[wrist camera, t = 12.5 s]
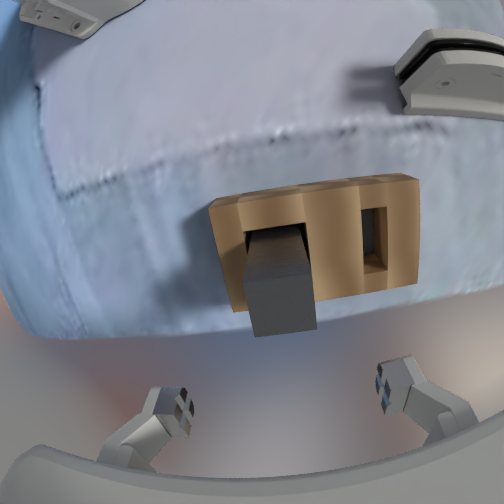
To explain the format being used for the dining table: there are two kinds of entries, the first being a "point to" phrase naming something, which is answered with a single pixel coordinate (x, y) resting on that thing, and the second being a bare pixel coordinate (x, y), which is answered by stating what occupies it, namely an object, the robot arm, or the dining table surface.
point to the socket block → (328, 232)
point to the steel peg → (279, 282)
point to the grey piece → (454, 74)
